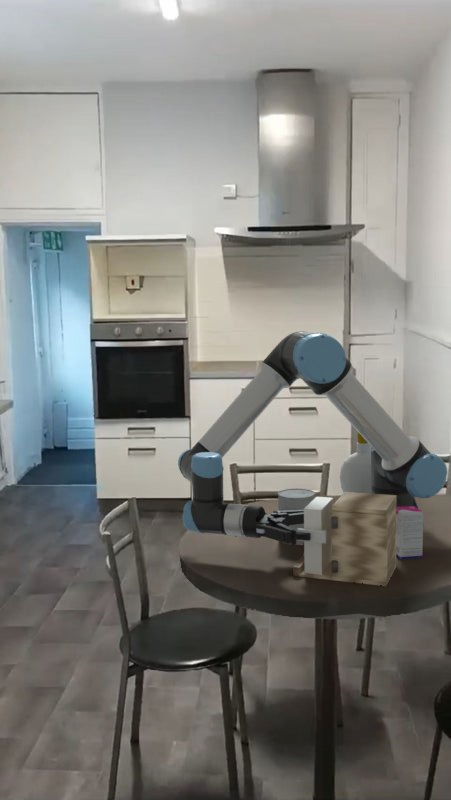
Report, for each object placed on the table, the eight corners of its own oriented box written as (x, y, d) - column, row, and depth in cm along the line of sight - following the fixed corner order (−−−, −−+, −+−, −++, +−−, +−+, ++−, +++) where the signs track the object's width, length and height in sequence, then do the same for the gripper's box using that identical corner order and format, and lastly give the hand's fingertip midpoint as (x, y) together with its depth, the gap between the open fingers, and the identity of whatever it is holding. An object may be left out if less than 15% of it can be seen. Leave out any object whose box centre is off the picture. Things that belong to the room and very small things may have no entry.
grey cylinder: (313, 545, 204) (313, 498, 202) (276, 544, 206) (275, 497, 204) (317, 534, 213) (316, 489, 212) (281, 533, 215) (280, 488, 214)
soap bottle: (390, 500, 245) (390, 415, 241) (385, 508, 237) (385, 420, 233) (343, 497, 250) (343, 414, 246) (337, 505, 241) (336, 419, 238)
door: (333, 559, 192) (333, 497, 190) (321, 574, 182) (321, 510, 180) (312, 557, 194) (311, 496, 192) (299, 572, 183) (298, 508, 181)
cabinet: (396, 566, 187) (396, 495, 185) (384, 588, 174) (385, 511, 172) (308, 557, 195) (307, 489, 193) (291, 577, 182) (290, 504, 179)
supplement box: (423, 557, 193) (424, 511, 191) (400, 559, 192) (400, 513, 191) (414, 550, 199) (414, 505, 197) (391, 552, 198) (391, 506, 196)
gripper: (263, 521, 205) (345, 528, 197) (227, 552, 182) (319, 561, 174) (262, 492, 204) (345, 498, 196) (226, 519, 181) (319, 527, 173)
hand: (333, 528), depth 185 cm, fingers open, 13 cm apart
